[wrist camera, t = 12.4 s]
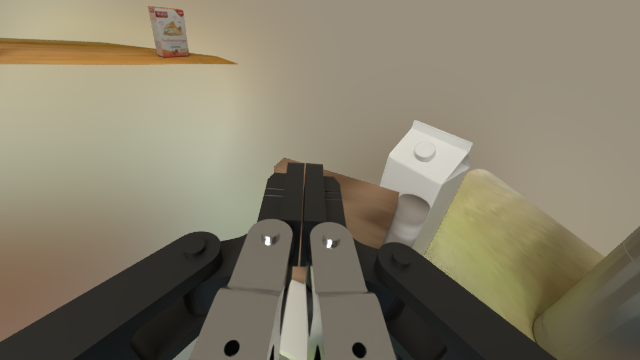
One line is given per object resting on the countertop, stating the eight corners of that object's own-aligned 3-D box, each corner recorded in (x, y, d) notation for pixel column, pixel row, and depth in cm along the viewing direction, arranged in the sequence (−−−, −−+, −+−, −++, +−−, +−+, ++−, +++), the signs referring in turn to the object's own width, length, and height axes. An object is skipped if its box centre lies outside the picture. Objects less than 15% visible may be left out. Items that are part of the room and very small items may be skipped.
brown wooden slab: (384, 299, 30) (430, 199, 22) (381, 319, 28) (430, 217, 20) (280, 257, 33) (285, 156, 25) (270, 272, 31) (272, 168, 23)
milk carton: (389, 223, 43) (429, 116, 33) (426, 250, 39) (485, 137, 29) (362, 240, 39) (397, 124, 29) (400, 273, 35) (458, 150, 25)
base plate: (385, 284, 33) (400, 247, 29) (357, 397, 23) (375, 364, 19) (290, 243, 37) (294, 206, 33) (230, 325, 27) (225, 285, 23)
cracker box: (164, 57, 126) (154, 7, 115) (157, 55, 129) (146, 5, 117) (190, 56, 136) (183, 9, 125) (183, 54, 139) (176, 8, 127)
